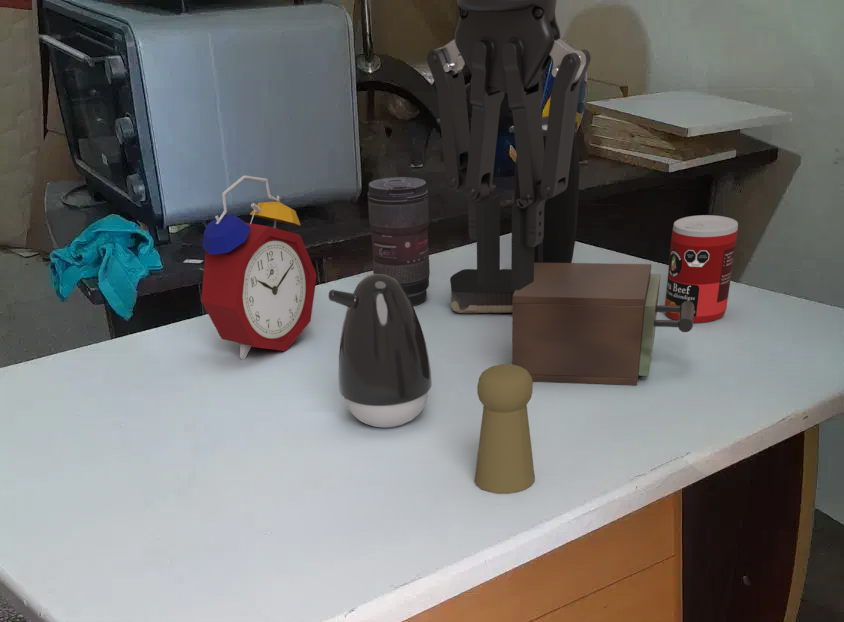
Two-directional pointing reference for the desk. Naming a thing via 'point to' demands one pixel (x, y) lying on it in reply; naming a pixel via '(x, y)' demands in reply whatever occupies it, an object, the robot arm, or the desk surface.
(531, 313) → the cabinet
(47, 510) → the desk surface
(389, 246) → the camera lens
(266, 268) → the alarm clock
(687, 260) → the canned food
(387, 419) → the pump dispenser
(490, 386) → the tan game pawn
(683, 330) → the drawer
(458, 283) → the scrub brush
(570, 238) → the portable speaker
